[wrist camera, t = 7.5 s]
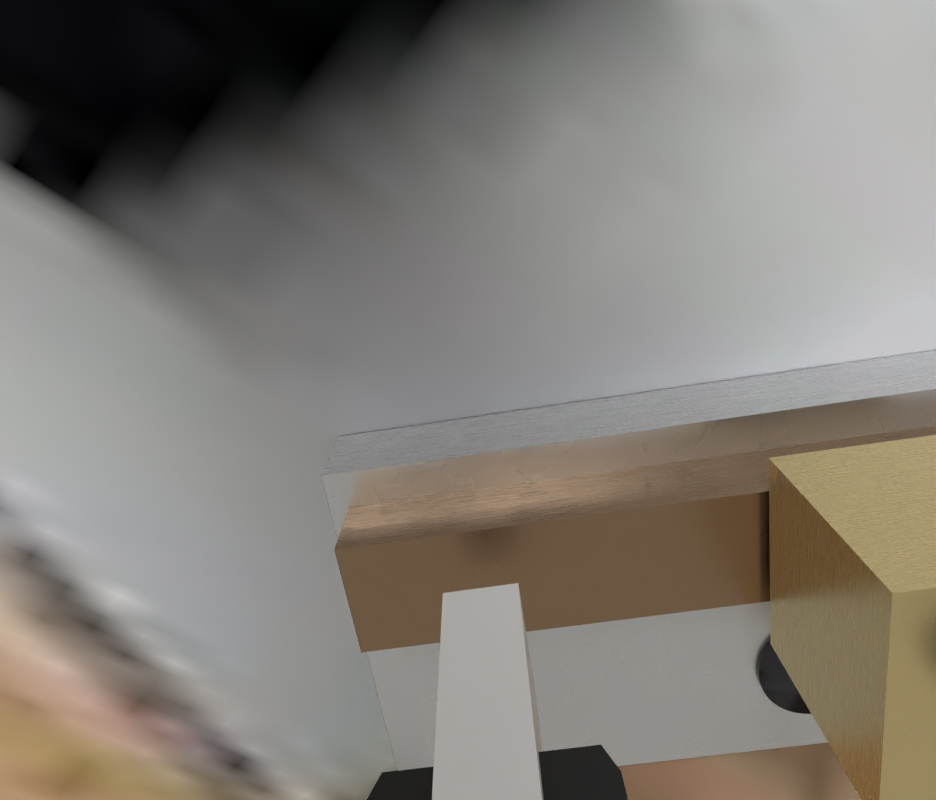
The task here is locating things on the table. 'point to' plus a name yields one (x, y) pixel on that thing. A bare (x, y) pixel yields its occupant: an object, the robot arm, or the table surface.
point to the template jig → (605, 551)
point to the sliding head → (861, 605)
